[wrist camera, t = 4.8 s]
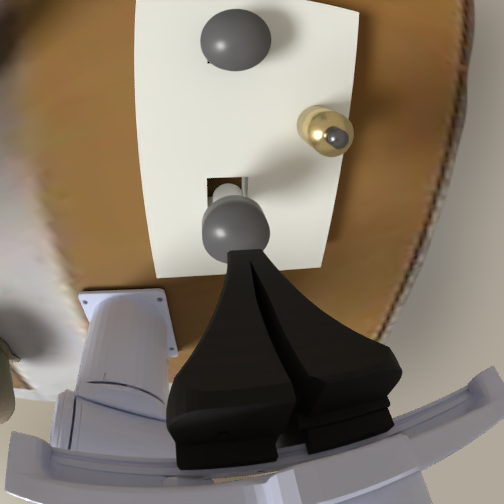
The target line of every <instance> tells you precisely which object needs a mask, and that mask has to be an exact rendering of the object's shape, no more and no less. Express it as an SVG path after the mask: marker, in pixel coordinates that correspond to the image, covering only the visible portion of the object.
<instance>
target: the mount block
mask: <svg viewBox="0 0 504 504" xmlns="http://www.w3.org/2000/svg"><path fill="white" fill-rule="evenodd" d="M229 9H243V10H248V11H251V12H253V13H255V14H257V15H258V16H259V17H261V18H262V19H263V20H264V21H265V23H266V24H267V26H268V28H269V30H270V33H271V47H270V50H269V52H268V54H267V56H266V57H265V58H264V59H263V61H261V62H260V63H259V64H258V65H256V66H254V67H253V68H250V69H248V70H244V71H228V70H223V69H220V68H217V67H215V66H214V65H212V64H207V62H208V60H207V59H206V58H205V56H204V55H203V53H202V50H201V46H200V38H201V33H202V30H203V28H204V26H205V24H206V23H207V22H208V20H209V19H211V18H212V17H213V16H214V15H216V14H218V13H219V12H222V11H225V10H229ZM358 24H359V12H356V11H352V10H348V9H344V8H340V7H336V6H332V5H327V4H322V3H317V2H312V1H307V0H136V13H135V45H134V69H135V103H136V122H137V136H138V148H139V159H140V169H141V178H142V187H143V195H144V203H145V210H146V217H147V224H148V231H149V237H150V243H151V249H152V255H153V260H154V266H155V271H156V276H157V278H169V277H187V276H204V275H220V274H226V273H227V263H222V262H220V261H217V260H216V259H214V258H213V257H211V256H210V255H209V254H208V253H207V251H206V250H205V248H204V245H203V241H202V218H203V215H204V213H205V211H206V210H207V208H208V207H209V206H210V205H211V204H212V203H213V197H207V178H223V177H242V190H241V191H242V193H243V196H245V197H248V198H251V199H252V200H254V201H255V202H257V203H258V204H259V205H260V207H261V208H262V210H263V212H264V215H265V217H266V219H267V222H268V224H269V228H270V239H269V242H268V244H267V246H266V248H265V249H264V251H263V252H264V253H265V254H266V255H267V257H268V258H269V259H270V260H271V262H272V263H273V264H274V265H275V266H276V267H277V269H278V270H292V269H305V268H318V267H321V264H322V259H323V255H324V251H325V246H326V242H327V237H328V232H329V227H330V223H331V218H332V213H333V208H334V203H335V197H336V192H337V187H338V181H339V176H340V170H341V164H342V158H343V154H342V155H340V156H337V157H326V156H323V155H321V154H320V153H318V152H317V151H316V150H315V149H314V148H312V147H311V146H310V145H309V144H308V143H306V142H305V141H304V140H303V139H302V138H301V137H300V136H299V134H298V131H297V120H298V117H299V115H300V114H301V113H302V111H303V110H305V109H306V108H308V107H310V106H315V105H319V106H323V107H326V108H328V109H330V110H333V111H335V112H337V113H339V114H342V115H344V116H345V117H346V118H348V119H349V112H350V104H351V96H352V88H353V79H354V70H355V60H356V49H357V37H358Z"/></svg>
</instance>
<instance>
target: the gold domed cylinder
mask: <svg viewBox="0 0 504 504" xmlns="http://www.w3.org/2000/svg"><path fill="white" fill-rule="evenodd" d="M297 131H298V134H299V136H300V137H301V138H302V139H303V140H304V141H305V142H306V143H308V144H309V145H310V146H311V147H312V148H314V149H315V150H316V151H317V152H318V153H320V154H321V155H323V156H326V157H337V156H340V155H342V154H343V153H345V152H346V151H347V150H348V149H349V148H350V146H351V144H352V142H353V138H354V129H353V126H352V124H351V122H350V121H349V119H348V118H346V117H345V116H344V115H342V114H339V113H337V112H335V111H333V110H330V109H328V108H326V107H323V106H319V105H315V106H310V107H308V108H306V109H305V110H303V111H302V113H301V114H300V115H299V117H298V120H297Z"/></svg>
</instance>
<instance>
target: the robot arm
mask: <svg viewBox="0 0 504 504" xmlns="http://www.w3.org/2000/svg"><path fill="white" fill-rule="evenodd" d="M78 297H79V300H80V302H81V305H82V307H83V309H84V311H85V314H86V316H87V318H88V320H89V322H90V325H89V329H88V333H87V337H86V341H85V345H84V350H83V354H82V359H81V364H80V369H79V374H78V379H77V384H76V389H75V391H74V392H73V391H71V390H68V389H66V390H65V392H62V393H60V394H59V395H58V397H57V401H56V406H55V410H54V415H53V420H52V426H51V433H50V440H49V443H47V442H46V441H44V440H43V439H40V438H38V437H35V436H31V435H27V434H23V433H19V432H15V431H12V433H11V438H10V444H9V451H8V459H7V468H6V479H5V491H6V493H8V494H11V495H13V496H15V497H18V498H21V499H23V500H26V501H29V502H32V503H35V504H432V501H431V498H430V495H429V493H428V490H427V487H426V484H425V481H424V479H423V476H422V474H421V471H422V470H424V469H426V468H428V467H430V466H432V465H434V464H436V463H437V462H439V461H441V460H443V459H444V458H446V457H448V456H450V455H451V454H453V453H454V452H456V451H458V450H459V449H461V448H463V447H464V446H466V445H467V444H469V443H470V442H472V441H473V440H475V439H476V438H478V437H479V436H481V435H482V434H484V433H485V432H486V431H488V430H489V429H490V428H492V427H493V426H494V425H496V424H497V423H498V422H499V421H501V420H502V419H503V418H504V383H503V381H502V379H501V378H500V376H499V374H498V372H497V371H496V369H495V367H494V366H492V367H490V368H488V369H486V370H484V371H482V372H481V373H479V374H478V375H477V376H475V377H474V378H473V379H472V380H471V381H470V382H469V383H468V385H467V386H465V387H463V388H461V389H459V390H458V391H455V392H453V393H451V394H449V395H447V396H445V397H443V398H441V399H439V400H437V401H434V402H432V403H430V404H427V405H425V406H423V407H421V408H418V409H415V410H413V411H410V412H408V413H405V414H403V415H400V416H398V417H395V418H392V417H391V415H390V413H389V410H388V408H387V407H389V406H390V402H389V399H388V397H387V395H388V394H389V393H390V392H391V390H392V389H393V388H394V387H395V385H396V384H397V383H398V381H399V380H400V378H401V376H402V369H401V367H400V366H399V363H398V361H397V359H396V357H395V355H394V354H393V352H392V351H391V349H390V348H389V347H388V346H385V345H383V344H381V343H378V342H376V341H374V340H371V339H369V338H367V337H365V336H363V335H361V334H359V333H357V332H355V331H353V330H351V329H350V328H348V327H346V326H345V325H343V324H341V323H340V322H338V321H337V320H335V319H334V318H332V317H330V316H329V315H328V314H326V313H325V312H323V311H322V310H321V309H319V308H318V307H317V306H316V305H314V304H313V303H312V302H310V301H309V300H308V299H307V298H306V297H305V296H304V295H303V294H302V293H300V292H299V291H298V290H297V289H296V288H295V287H294V286H293V285H292V284H291V283H290V282H289V281H288V280H287V279H286V277H285V276H284V275H283V274H282V273H281V272H280V271H279V270H278V269H277V267H276V266H275V265H274V264H273V263H272V262H271V260H270V259H269V258H268V257H267V255H266V254H265V253H264V252H263V251H262V250H261V249H249V250H232V251H229V252H228V253H227V273H226V277H225V282H224V286H223V289H222V292H221V295H220V298H219V301H218V304H217V307H216V309H215V312H214V314H213V316H212V319H211V321H210V323H209V325H208V327H207V329H206V331H205V333H204V335H203V336H202V338H201V340H200V342H199V343H198V345H197V346H196V348H195V350H194V351H193V353H192V354H191V356H190V357H189V359H188V360H187V362H186V363H185V364H184V366H183V367H182V368H181V370H180V371H179V372H178V374H177V375H176V376H175V378H174V381H173V384H172V387H171V390H170V393H169V357H176V356H178V349H177V345H176V341H175V336H174V332H173V327H172V323H171V318H170V313H169V309H168V304H167V299H166V294H165V291H164V290H163V289H160V288H155V289H133V290H108V291H82V292H80V293H79V296H78ZM159 298H162V299H159ZM85 300H86V301H85ZM274 471H278V472H276V473H272V474H267V475H262V476H258V477H252V478H247V479H241V480H235V481H228V482H221V483H214V481H213V480H211V479H215V478H227V477H237V476H246V475H254V474H261V473H268V472H274Z"/></svg>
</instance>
